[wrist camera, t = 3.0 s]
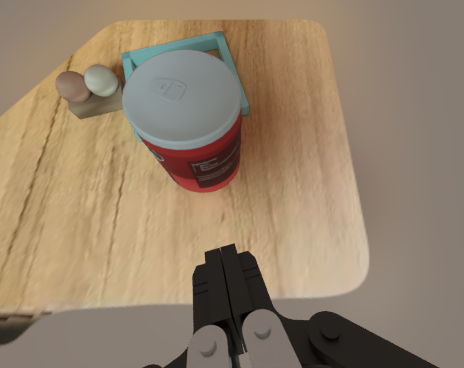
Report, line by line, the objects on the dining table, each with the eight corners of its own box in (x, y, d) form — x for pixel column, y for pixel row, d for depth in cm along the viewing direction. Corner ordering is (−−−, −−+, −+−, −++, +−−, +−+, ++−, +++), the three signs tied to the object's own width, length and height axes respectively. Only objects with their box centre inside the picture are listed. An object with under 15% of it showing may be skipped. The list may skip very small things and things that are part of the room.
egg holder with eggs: (79, 120, 27) (47, 92, 23) (77, 99, 28) (47, 68, 24) (130, 107, 28) (109, 77, 23) (127, 87, 29) (106, 54, 24)
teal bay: (139, 141, 26) (134, 134, 25) (126, 63, 30) (121, 53, 29) (248, 114, 27) (249, 105, 26) (222, 41, 31) (221, 30, 29)
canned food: (177, 126, 27) (139, 41, 16) (245, 136, 26) (250, 54, 16) (159, 188, 24) (102, 134, 14) (233, 200, 24) (230, 154, 13)
